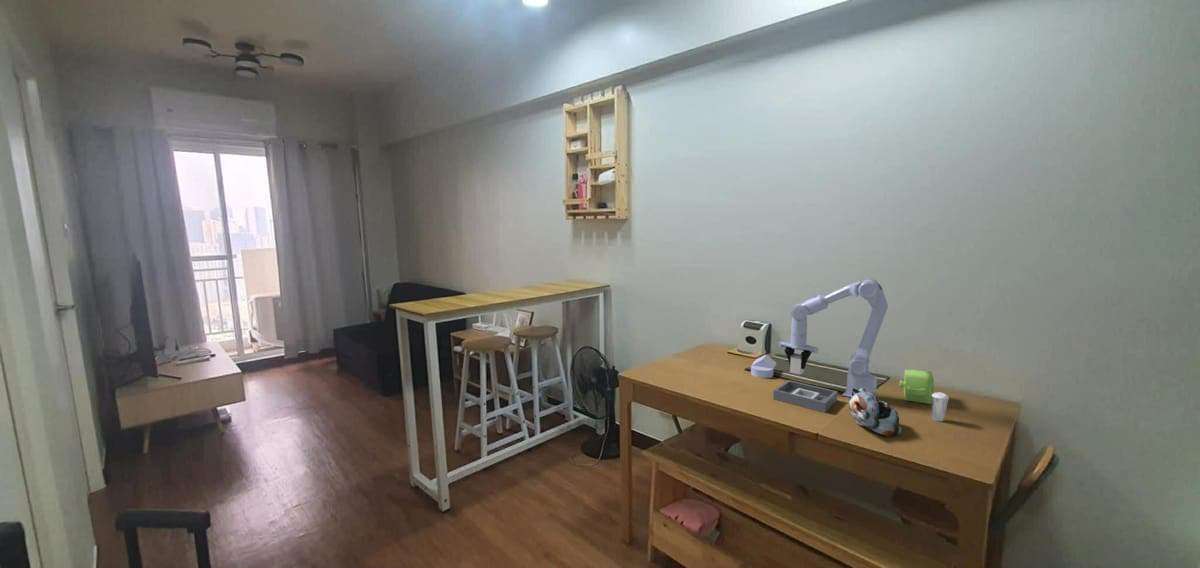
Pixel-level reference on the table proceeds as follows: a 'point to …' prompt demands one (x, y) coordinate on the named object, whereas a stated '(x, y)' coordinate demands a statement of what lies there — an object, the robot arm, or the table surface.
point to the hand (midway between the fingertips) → (797, 367)
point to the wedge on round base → (763, 367)
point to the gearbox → (918, 386)
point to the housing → (805, 395)
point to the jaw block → (796, 364)
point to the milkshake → (939, 406)
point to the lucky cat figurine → (874, 413)
